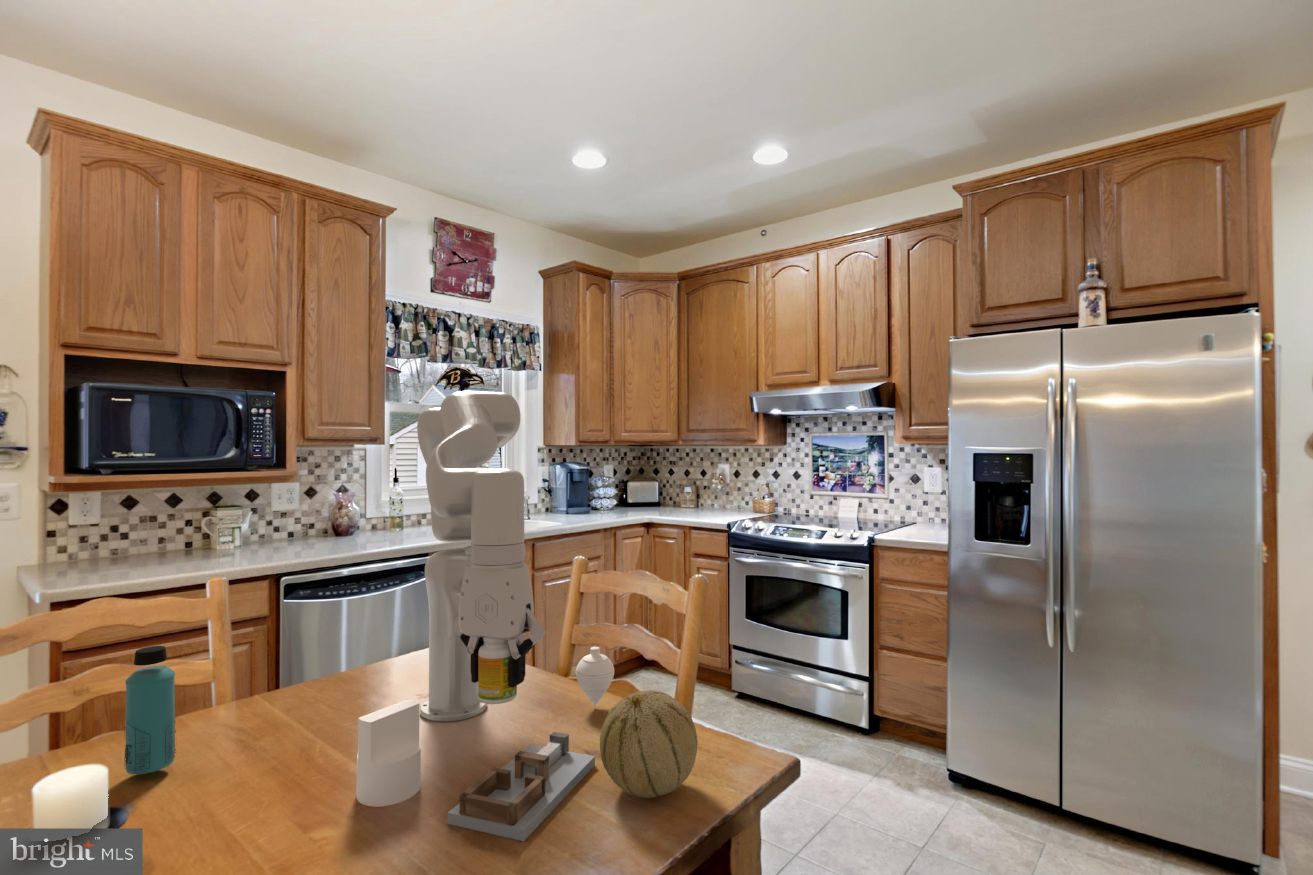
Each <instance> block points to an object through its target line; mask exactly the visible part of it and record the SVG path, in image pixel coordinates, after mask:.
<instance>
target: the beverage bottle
mask: <svg viewBox="0 0 1313 875" xmlns="http://www.w3.org/2000/svg"><path fill="white" fill-rule="evenodd" d="M167 659H168V655H167V648H166V646H164V645H152V646H146V647H141V648H139V649H137V650H136V651H135V653H134V660H133V665H135V666H146V667H143V668H140V669H137V670H135V671H133V673H131V674H130V675H129V676H128V677H127V678H126V680H125V710H124V711H125V712H124V713H125V715H124V720H125V725H124V726H123V727H124V733H123V734H124V735H123V736H124V737H125V744H124V761H123V762H124V763H123V764H124V765H123V767H124V769H125V771H126V773H127V774H130V775H143V774H144V775H145V774H150V773H153V772H157V771H160V770H163V769H164V768H166V767H168V766H170V765H172V764H173V763H174V760H175V758H176V752H177V748H176V735H177V730H176V724H177V723H176V720H177V717H176V715H177V714H176V704H175V701H176V700H175V699H176V698H175V697H176V696H175V688H176V687H175V684H176V683H175V676H176V672H175V670H174V669H172V668H170V667H169V666H167V665H156V664H160V663H163V662H165V661H167ZM150 665H152V666H150ZM147 666H148V667H147Z"/></svg>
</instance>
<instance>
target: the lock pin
mask: <svg viewBox="0 0 1313 875" xmlns="http://www.w3.org/2000/svg"><path fill="white" fill-rule="evenodd" d="M569 740H570V735H569V734H568V733H564V732H558V731H553V732H552V733H550V734H549V742H548V743H547V744H546V745H545V746H543V747H544V748H542V749H541V750H540V751H539V752H538V753H537V754H541V755H546V756H549V767H550V766H551V765H552V764H553V763H554V762H555V761H556V760H557V759H558V758H560V757H561V756H562V755H565V754H566V753H567V752H570V747H569V746H570V742H569ZM528 774H532V775H537V776H538V765H537V764H532V763H525V764H524V765H523V778H525V777H526V776H527V775H528Z"/></svg>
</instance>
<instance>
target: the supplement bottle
mask: <svg viewBox="0 0 1313 875" xmlns="http://www.w3.org/2000/svg"><path fill="white" fill-rule="evenodd" d="M483 639H484V640H483V641H484V642H485V644H484V645H482V646H481V647H480V649H479V653H478V698H479V700H480V701H481V702H482V703H485V704H487V705H501V704H506V703H509V702H512V701H513V700H514V699H515V698H516V697H517V694H518V693H517V691H518V690H517V688H518V687H517V686H518V685H517V686H515V687H514V688H512V687H509V686H508V660H509V659H510V658H512V654H511V651H510V647H509V644H508V640H505V639H493V638H483Z"/></svg>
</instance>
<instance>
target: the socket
mask: <svg viewBox="0 0 1313 875" xmlns="http://www.w3.org/2000/svg"><path fill="white" fill-rule="evenodd" d="M510 788H511V770H505V769H502V768H501V767H500V768H499V767H493V769H491V770H490V771H489V772H487V773H486V774H485V775H484V776H482V777H481V778H479V780H477V781H476V782H475V783H474V784H473V785H471V786H470V787H469V788H467V789H466V790H465V791H464V792H462V793H461V794H460V795H459V796H458V797H459V800H458V801H459V802H458V804H459V814H460V815H465V816H469V817H474V818H478V819H483V820H487V821H492V822H496V823H501V824H505V825H510V826H514V825H515V824H516V823H517V822H518V821H519V820H520V819H521V818H522V817H523V816H524V815H525V814H526V813H527V812H528V811H529V810H530V809H531V808H532V807H533V806H534V805H535V804H536V803H537V802H538V801H539V800H540V799H541V798H542V797H543V796H544V795H545V777H542V776H537V775H532V774H528V775H527V776H526V777H525V789H524V790H523V791H522V792H521V793H520V794H519V795H518V796H517V797H516V798H515V799H514V800H513V801H512V802H508V801H504V800H499V799H494V798H489V797H488V796H489V795H490V794H491V793H492V792H494V791H495V790H496V789H500V790H505V791H507V790H509V789H510Z"/></svg>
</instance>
